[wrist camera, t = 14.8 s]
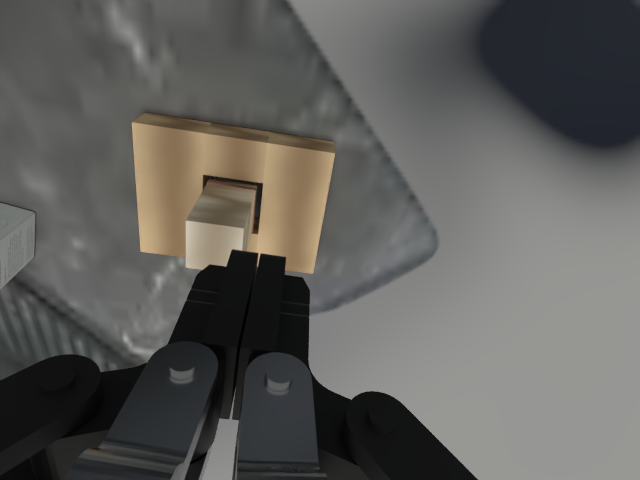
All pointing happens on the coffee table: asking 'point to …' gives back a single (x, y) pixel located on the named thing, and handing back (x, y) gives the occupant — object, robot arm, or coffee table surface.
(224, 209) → the ash peg
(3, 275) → the small box
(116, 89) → the coffee table surface
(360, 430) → the robot arm
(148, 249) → the oak board
